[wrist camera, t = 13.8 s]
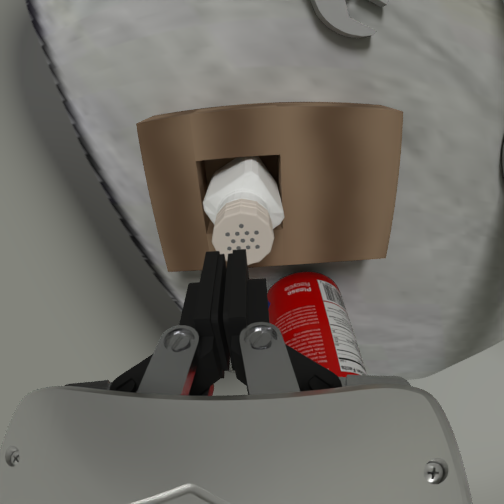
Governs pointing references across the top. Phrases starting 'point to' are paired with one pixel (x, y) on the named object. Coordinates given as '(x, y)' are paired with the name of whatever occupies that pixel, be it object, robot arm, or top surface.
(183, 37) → the top surface
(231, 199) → the pepper shaker
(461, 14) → the top surface
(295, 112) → the socket block
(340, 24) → the adjustable wrench
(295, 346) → the soda can
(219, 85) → the top surface
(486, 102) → the top surface
